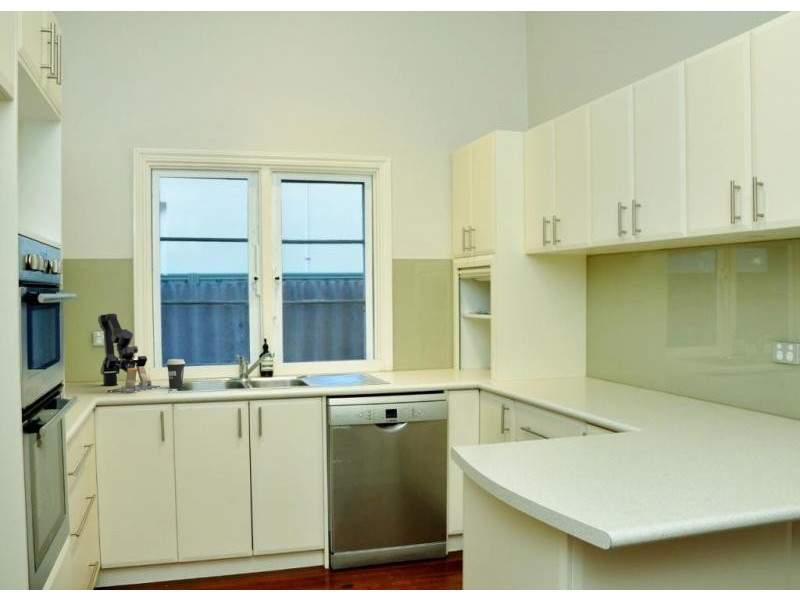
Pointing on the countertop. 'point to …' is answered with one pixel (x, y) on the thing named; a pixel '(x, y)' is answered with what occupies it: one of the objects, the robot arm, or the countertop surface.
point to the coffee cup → (175, 373)
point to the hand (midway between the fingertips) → (130, 374)
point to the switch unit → (135, 387)
